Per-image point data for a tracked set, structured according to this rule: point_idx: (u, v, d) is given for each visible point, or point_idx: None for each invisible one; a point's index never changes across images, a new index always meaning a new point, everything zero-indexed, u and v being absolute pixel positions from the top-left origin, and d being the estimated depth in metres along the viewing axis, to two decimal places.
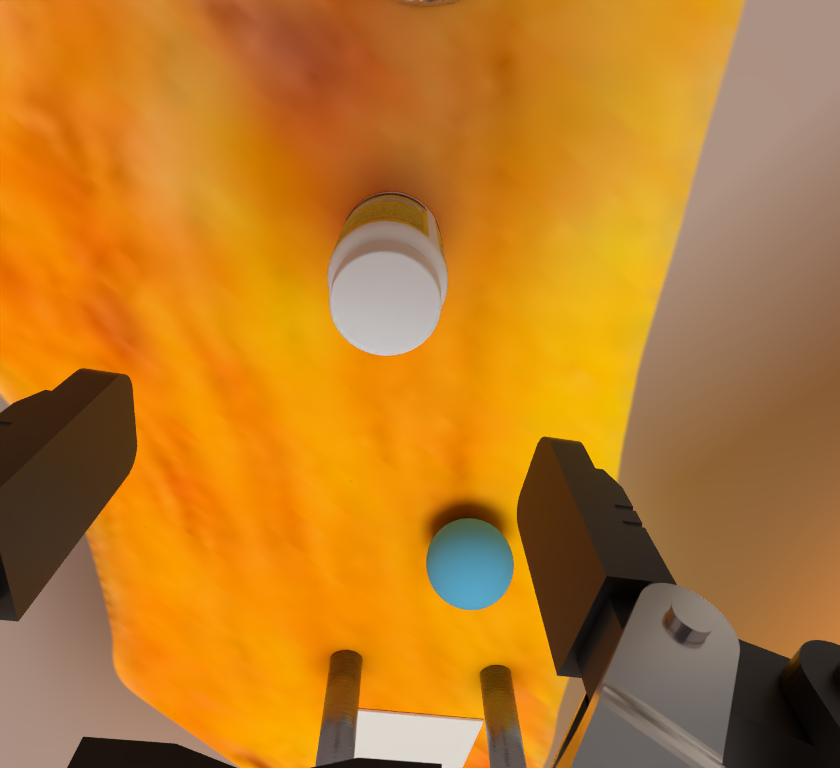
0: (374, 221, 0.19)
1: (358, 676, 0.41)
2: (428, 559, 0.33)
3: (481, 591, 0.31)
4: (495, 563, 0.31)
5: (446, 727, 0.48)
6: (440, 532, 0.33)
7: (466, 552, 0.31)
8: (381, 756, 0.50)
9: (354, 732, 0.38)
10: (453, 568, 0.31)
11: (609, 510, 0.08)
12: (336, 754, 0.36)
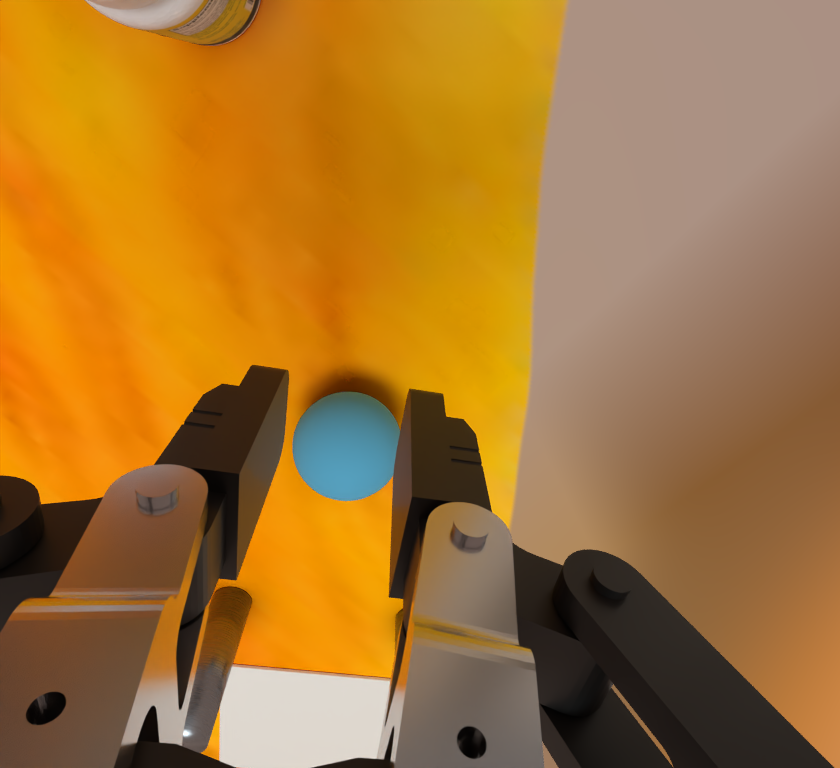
0: None
1: (241, 616, 0.34)
2: (293, 438, 0.26)
3: (349, 466, 0.24)
4: (369, 433, 0.24)
5: (364, 691, 0.41)
6: (310, 406, 0.26)
7: (333, 419, 0.24)
8: (292, 729, 0.43)
9: (223, 676, 0.31)
10: (315, 439, 0.24)
11: (441, 447, 0.09)
12: (192, 699, 0.29)
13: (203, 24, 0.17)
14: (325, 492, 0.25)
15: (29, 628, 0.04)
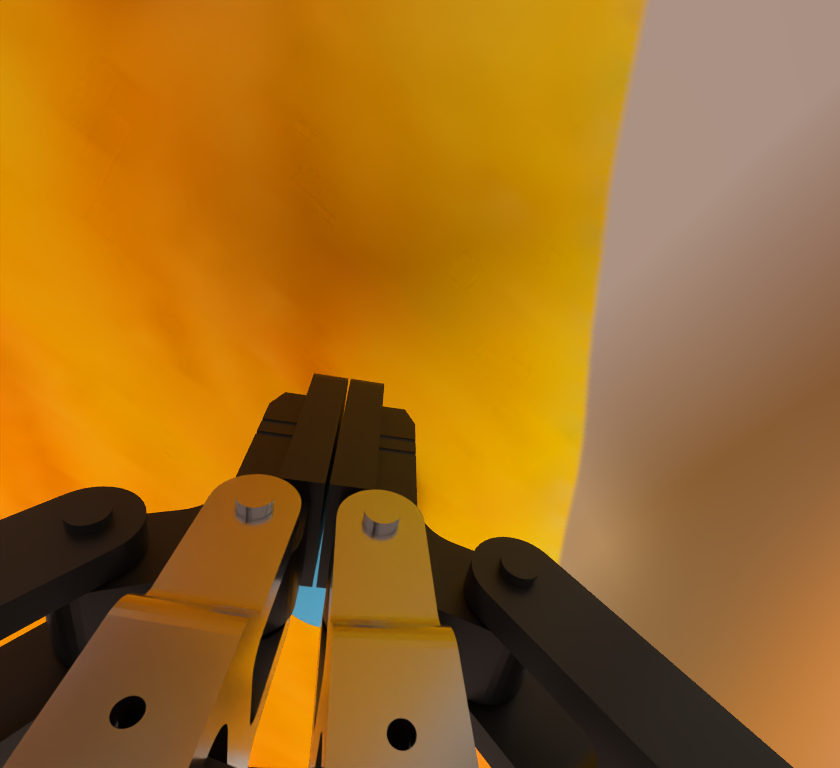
0: None
1: None
2: None
3: None
4: None
5: None
6: None
7: None
8: None
9: None
10: None
11: (371, 435, 0.09)
12: None
13: None
14: (308, 622, 0.18)
15: (125, 625, 0.05)
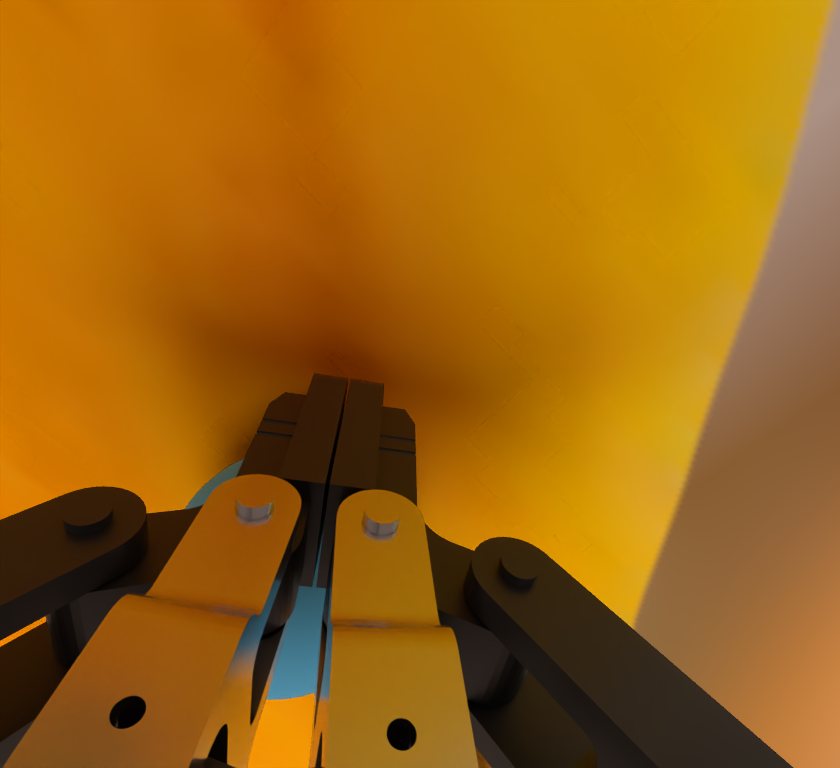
0: None
1: None
2: None
3: None
4: None
5: None
6: None
7: None
8: None
9: None
10: None
11: (371, 436, 0.09)
12: None
13: None
14: None
15: (124, 625, 0.05)
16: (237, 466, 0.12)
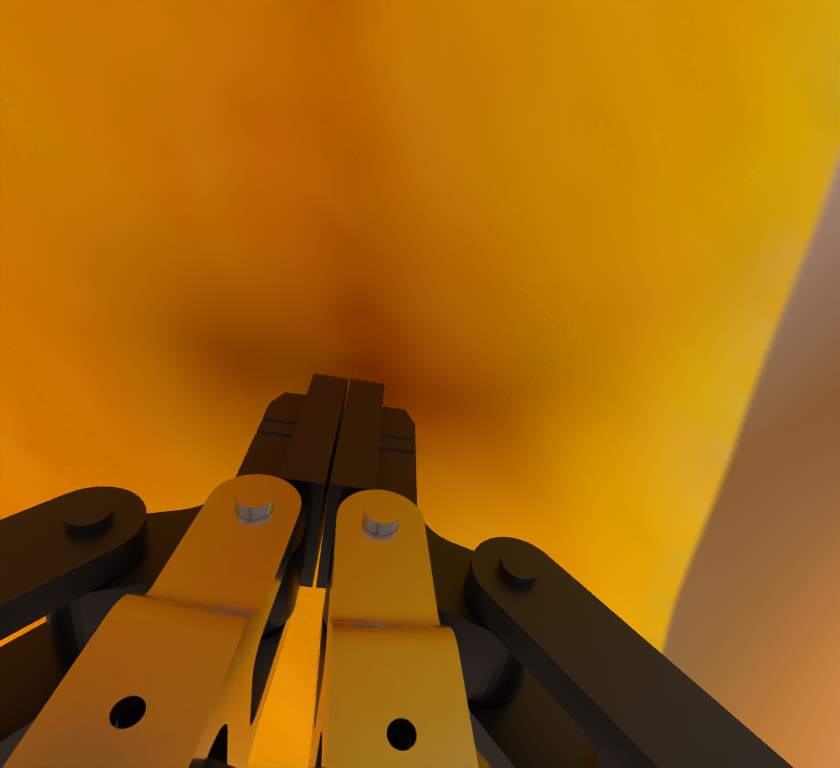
0: None
1: None
2: None
3: None
4: None
5: None
6: None
7: None
8: None
9: None
10: None
11: (371, 436, 0.09)
12: None
13: None
14: None
15: (124, 626, 0.05)
16: None
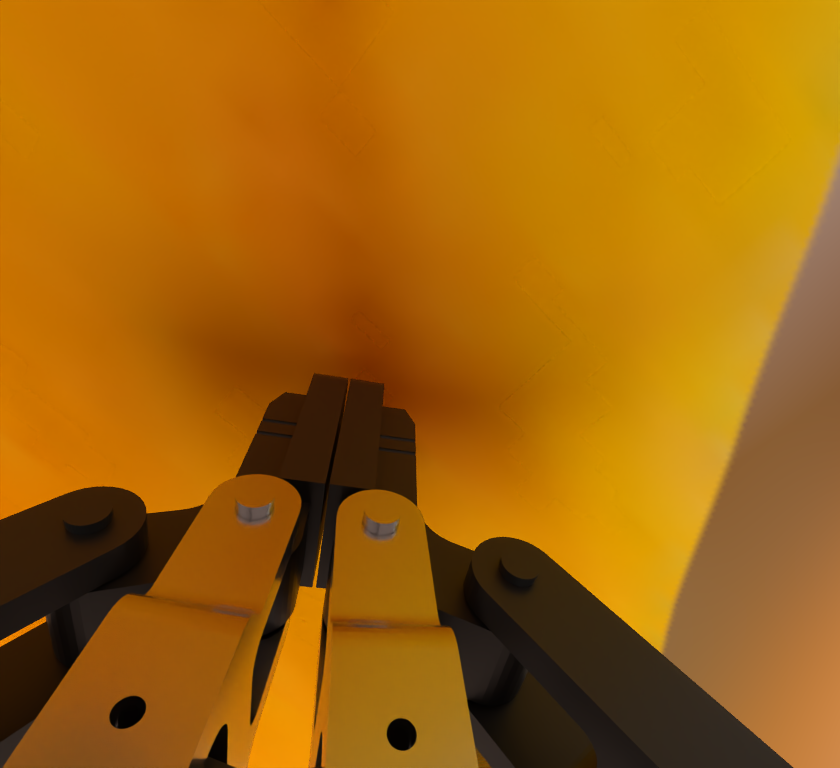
0: None
1: None
2: None
3: None
4: None
5: None
6: None
7: None
8: None
9: None
10: None
11: (371, 436, 0.09)
12: None
13: None
14: None
15: (124, 626, 0.05)
16: None
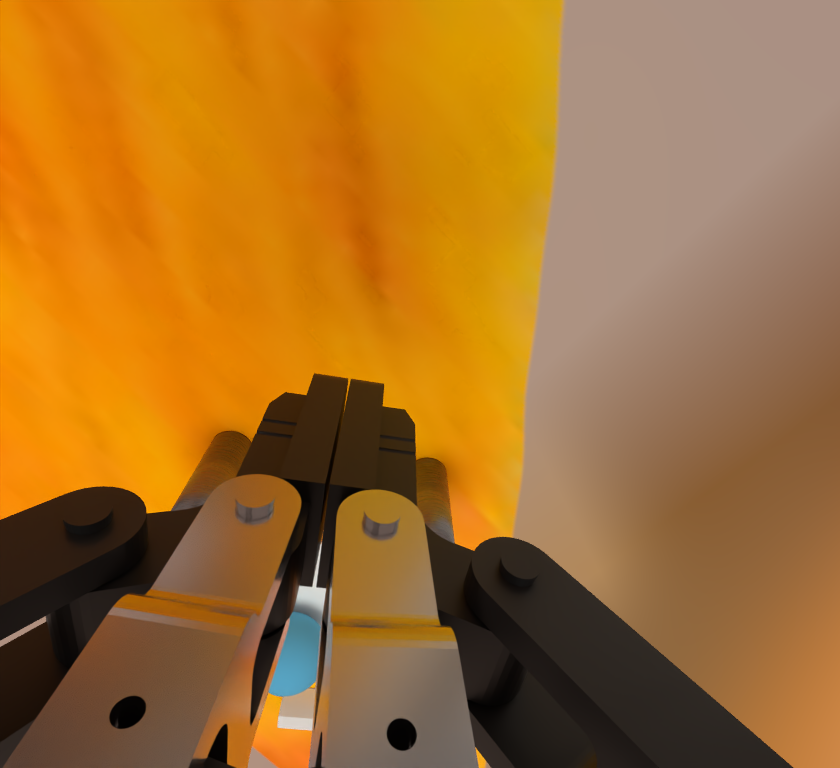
0: None
1: (242, 456, 0.32)
2: None
3: (297, 621, 0.38)
4: (307, 615, 0.39)
5: None
6: None
7: None
8: None
9: None
10: None
11: (371, 435, 0.09)
12: None
13: None
14: None
15: (124, 625, 0.05)
16: None
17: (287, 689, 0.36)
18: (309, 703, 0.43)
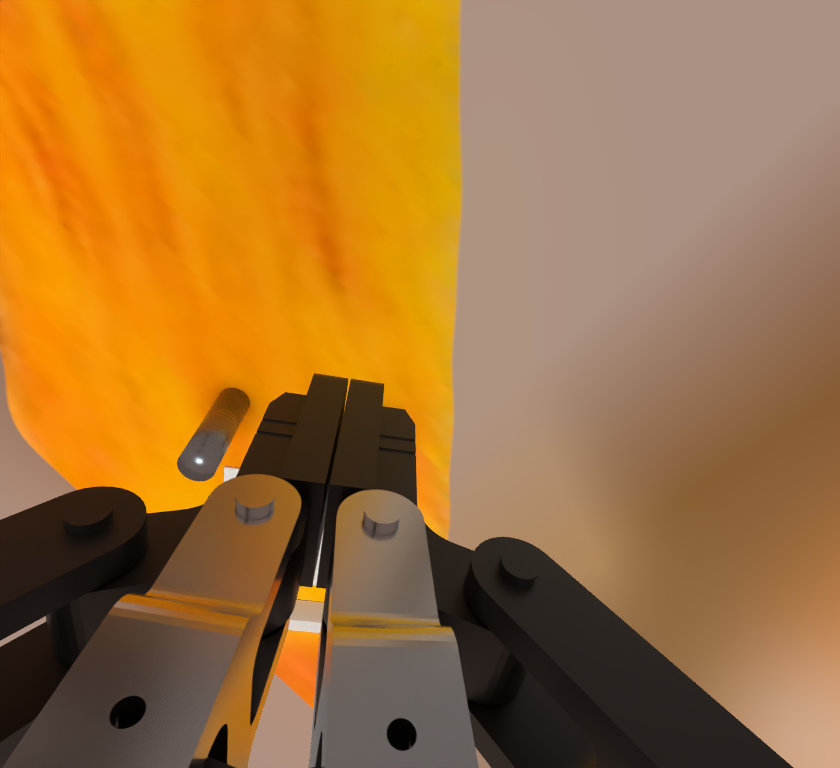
0: None
1: (241, 406, 0.43)
2: None
3: None
4: None
5: None
6: None
7: None
8: None
9: (227, 434, 0.39)
10: None
11: (371, 436, 0.09)
12: (203, 439, 0.37)
13: None
14: None
15: (125, 625, 0.05)
16: None
17: None
18: (295, 610, 0.55)
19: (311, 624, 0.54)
